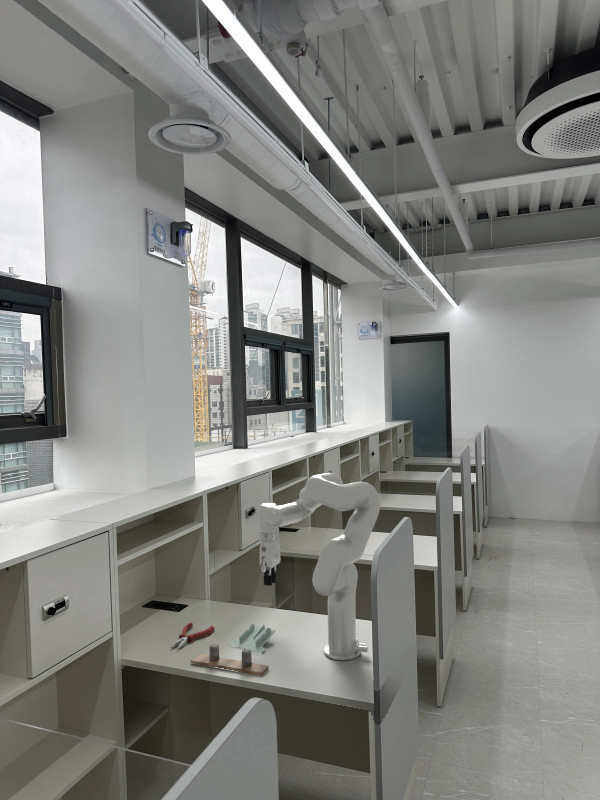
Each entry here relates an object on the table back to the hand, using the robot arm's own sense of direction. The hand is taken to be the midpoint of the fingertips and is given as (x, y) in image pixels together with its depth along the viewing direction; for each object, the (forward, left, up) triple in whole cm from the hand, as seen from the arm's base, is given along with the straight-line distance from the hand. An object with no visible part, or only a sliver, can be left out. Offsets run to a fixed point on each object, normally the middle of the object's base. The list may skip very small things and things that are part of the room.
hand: (269, 583), depth 214 cm
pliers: (+26, +17, -18) cm, 36 cm away
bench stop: (0, +33, -17) cm, 37 cm away
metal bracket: (0, +14, -18) cm, 23 cm away
